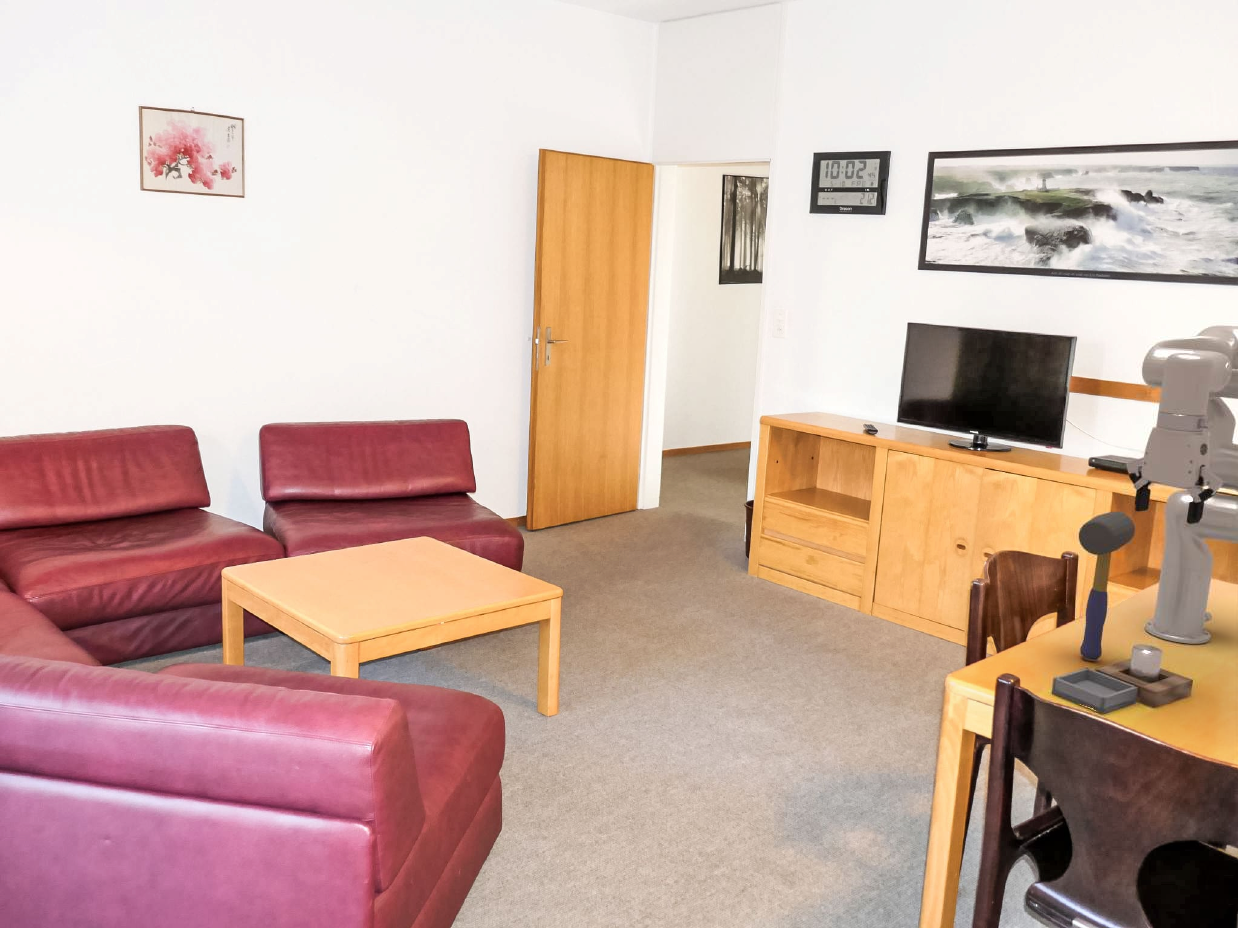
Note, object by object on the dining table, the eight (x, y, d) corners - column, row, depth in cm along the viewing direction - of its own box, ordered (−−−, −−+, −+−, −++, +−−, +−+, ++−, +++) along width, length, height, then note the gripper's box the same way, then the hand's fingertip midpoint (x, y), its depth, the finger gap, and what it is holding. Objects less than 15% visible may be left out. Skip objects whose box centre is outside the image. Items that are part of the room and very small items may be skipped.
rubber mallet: (1097, 673, 206) (1118, 523, 200) (1058, 661, 211) (1077, 515, 205) (1120, 656, 215) (1140, 513, 209) (1082, 646, 220) (1101, 505, 214)
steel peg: (1136, 682, 202) (1142, 642, 201) (1161, 691, 198) (1168, 651, 196) (1121, 687, 199) (1127, 646, 198) (1146, 697, 195) (1152, 656, 194)
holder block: (1130, 672, 207) (1132, 657, 206) (1190, 694, 197) (1193, 679, 196) (1093, 683, 200) (1095, 668, 200) (1153, 707, 191) (1156, 692, 190)
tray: (1085, 682, 201) (1087, 667, 200) (1135, 702, 192) (1138, 687, 192) (1051, 693, 195) (1053, 677, 195) (1102, 714, 187) (1104, 698, 186)
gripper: (1241, 429, 183) (1226, 525, 187) (1146, 414, 198) (1133, 504, 201) (1217, 432, 179) (1202, 530, 183) (1122, 416, 194) (1110, 508, 197)
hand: (1166, 516), depth 192 cm, fingers open, 9 cm apart
